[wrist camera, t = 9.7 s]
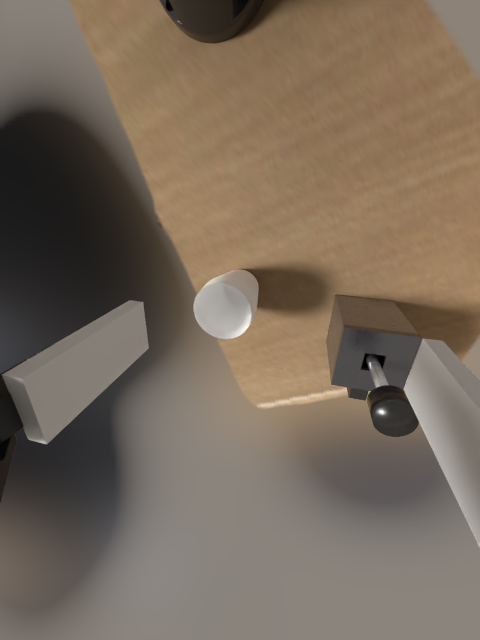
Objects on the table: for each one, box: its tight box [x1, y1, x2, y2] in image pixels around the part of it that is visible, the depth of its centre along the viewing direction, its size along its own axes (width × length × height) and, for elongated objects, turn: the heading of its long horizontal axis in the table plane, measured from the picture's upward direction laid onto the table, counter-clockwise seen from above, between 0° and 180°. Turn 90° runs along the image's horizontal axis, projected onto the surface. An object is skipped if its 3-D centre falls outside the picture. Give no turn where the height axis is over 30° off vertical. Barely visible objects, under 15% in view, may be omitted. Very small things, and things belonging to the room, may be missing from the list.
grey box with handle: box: [327, 295, 422, 400], centre depth 42 cm, size 12×9×13 cm
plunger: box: [365, 353, 419, 437], centre depth 35 cm, size 6×6×20 cm
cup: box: [194, 270, 259, 339], centre depth 44 cm, size 9×9×12 cm
